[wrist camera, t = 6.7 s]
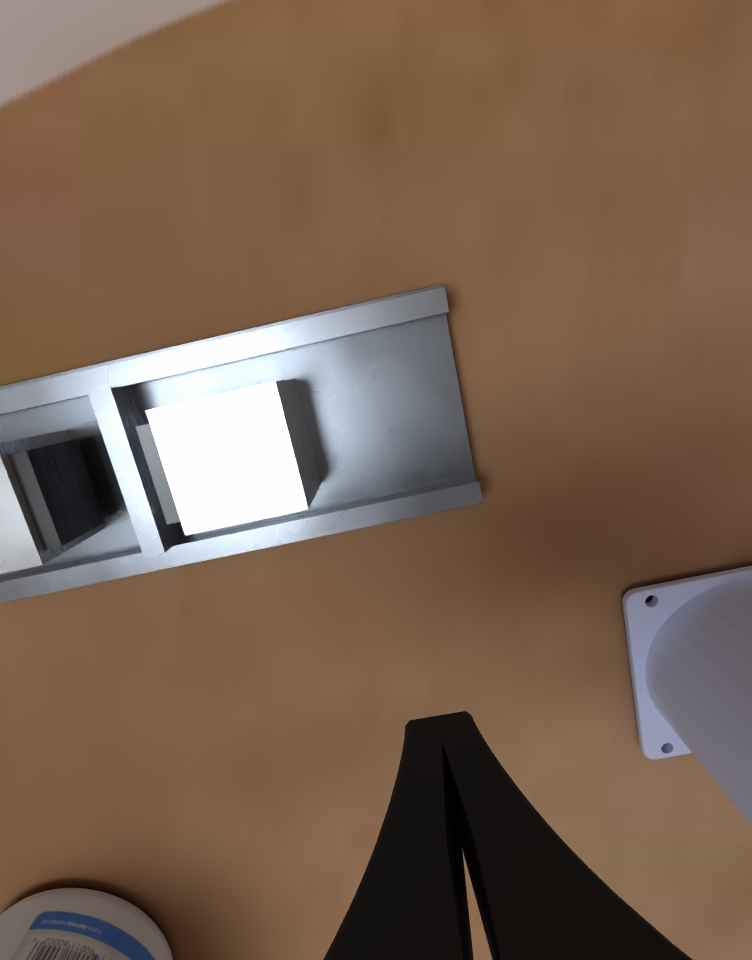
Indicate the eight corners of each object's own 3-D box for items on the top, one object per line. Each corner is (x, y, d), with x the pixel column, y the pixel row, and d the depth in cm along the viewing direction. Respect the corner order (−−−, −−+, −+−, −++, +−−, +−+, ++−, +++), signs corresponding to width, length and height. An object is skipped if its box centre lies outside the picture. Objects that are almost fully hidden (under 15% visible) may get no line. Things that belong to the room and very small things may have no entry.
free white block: (294, 378, 18) (275, 381, 15) (321, 483, 19) (308, 509, 15) (173, 405, 18) (126, 414, 15) (204, 508, 19) (167, 539, 16)
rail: (438, 287, 18) (456, 264, 14) (476, 497, 20) (501, 531, 16) (-80, 407, 19) (-202, 417, 15) (-1, 597, 21) (-92, 652, 17)
